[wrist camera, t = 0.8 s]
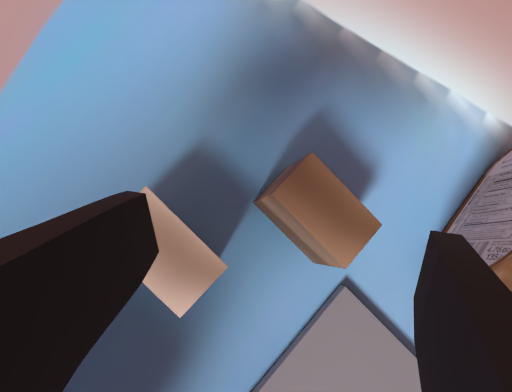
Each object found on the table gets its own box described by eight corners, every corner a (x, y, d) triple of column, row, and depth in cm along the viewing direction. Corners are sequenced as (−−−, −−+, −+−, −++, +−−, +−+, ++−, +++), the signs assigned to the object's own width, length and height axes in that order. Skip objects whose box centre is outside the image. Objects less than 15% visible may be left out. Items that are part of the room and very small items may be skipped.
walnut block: (312, 262, 25) (345, 268, 20) (252, 202, 25) (272, 193, 20) (343, 227, 26) (382, 224, 21) (286, 168, 25) (312, 151, 21)
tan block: (179, 300, 23) (180, 318, 18) (110, 235, 22) (92, 234, 17) (217, 260, 24) (228, 266, 19) (152, 196, 23) (145, 186, 18)
